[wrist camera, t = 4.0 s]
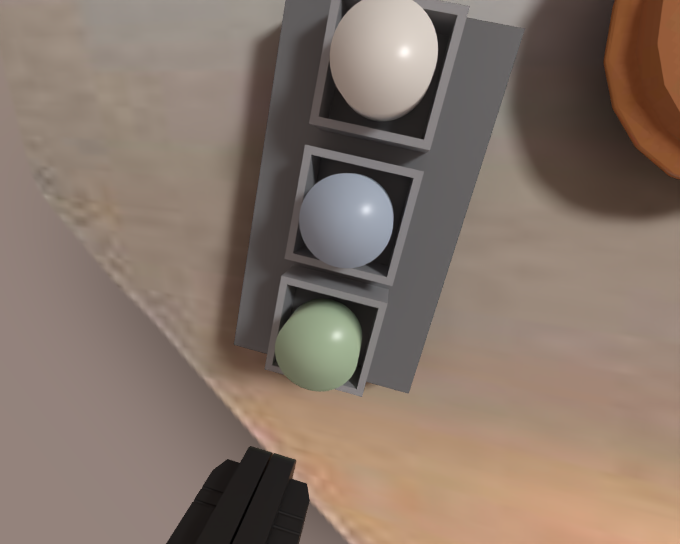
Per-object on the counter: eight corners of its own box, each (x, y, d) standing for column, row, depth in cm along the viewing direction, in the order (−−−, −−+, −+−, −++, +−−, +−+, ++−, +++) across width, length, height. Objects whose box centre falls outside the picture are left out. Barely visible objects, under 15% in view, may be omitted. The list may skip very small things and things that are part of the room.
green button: (281, 357, 22) (268, 378, 20) (295, 290, 21) (282, 304, 18) (352, 376, 22) (347, 400, 19) (370, 309, 20) (367, 327, 18)
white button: (330, 111, 18) (320, 102, 16) (349, 9, 17) (342, -17, 14) (417, 130, 18) (420, 123, 15) (444, 28, 16) (452, 4, 14)
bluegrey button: (303, 246, 20) (291, 255, 18) (319, 164, 19) (308, 163, 16) (381, 266, 20) (379, 278, 17) (403, 184, 18) (404, 185, 16)
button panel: (250, 326, 27) (216, 363, 22) (302, 9, 22) (272, -45, 16) (407, 369, 26) (409, 418, 21) (507, 48, 21) (544, 5, 15)
